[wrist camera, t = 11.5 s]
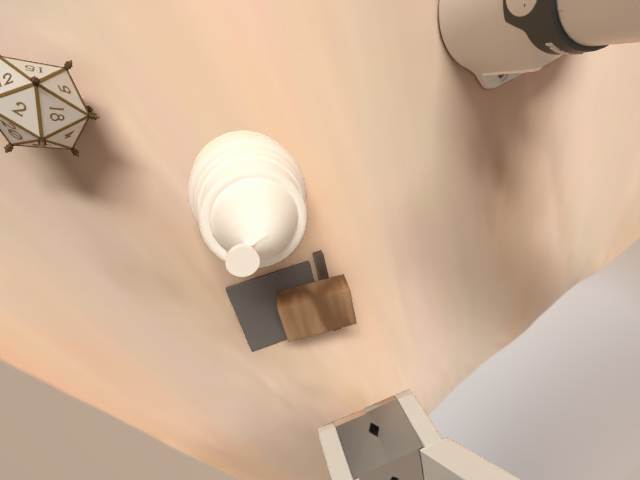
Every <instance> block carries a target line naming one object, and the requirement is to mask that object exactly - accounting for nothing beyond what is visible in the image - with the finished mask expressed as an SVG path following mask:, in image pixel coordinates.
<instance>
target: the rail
mask: <svg viewBox="0 0 640 480" xmlns="http://www.w3.org/2000/svg"><path fill="white" fill-rule="evenodd" d="M313 255H314V259H315V263H316V267H317V271H318V275H319V279H320V280H323V279H327V278H329V277H328V272H327V268H326V264H325V260H324V256H323V253H322V251H321V250H320V251H317V252H314V253H313ZM338 329H340V328H338ZM338 329H334V330H333V331H335V330H338Z"/></svg>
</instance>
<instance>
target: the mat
mask: <svg viewBox="0 0 640 480" xmlns="http://www.w3.org/2000/svg"><path fill="white" fill-rule="evenodd" d="M312 282H314V279H313V275H312V271H311V268H310V264H309V261H306V262H303V263H300V264H297V265H294V266H291V267H288V268H285V269H282V270H279V271H276V272H273V273H270V274H267V275H264V276H261V277H257V278H254V279H251V280H248V281H245V282H242V283H239V284H236V285H233V286H230V287H227V288H226V291H227V293H228V296H229V298H230V301H231V303H232V305H233V308H234V310H235V312H236V315H237V317H238V320H239V322H240V324H241V327H242V329H243V331H244V334H245V336H246V339H247V341H248V343H249V346H250V348H251V350H252V351H255V350H258V349H260V348H263V347H266V346H269V345H271V344H274V343H277V342H280V341H283V340H285V339H287V336H286V333H285V330H284V327H283V324H282V321H281V318H280V315H279V312H278V310H277V295H276V292H277V291H281V290H285V289H289V288H293V287H297V286H300V285H304V284H308V283H312Z"/></svg>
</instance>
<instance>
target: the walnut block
mask: <svg viewBox="0 0 640 480" xmlns="http://www.w3.org/2000/svg"><path fill="white" fill-rule="evenodd" d="M276 295H277V310H278V312H279V315H280V318H281V321H282V324H283V327H284V330H285V333H286V336H287V339H288V342H289V341H293V340H297V339H301V338H304V337H308V336H312V335H315V334H319V333H323V332H327V331H330V330H334V329H338V328H342V327H345V326H349V325H353V324H357V323H356V318H355V313H354V308H353V303H352V298H351V293H350V289H349V287H348V284H347V282H346V279H345V277H344V274H343V275H339V276H335V277H331V278H327V279H323V280H320V281H316V282H312V283H308V284H304V285H300V286H297V287H293V288H289V289H285V290H281V291H277V292H276Z"/></svg>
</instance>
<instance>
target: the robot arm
mask: <svg viewBox="0 0 640 480" xmlns="http://www.w3.org/2000/svg"><path fill="white" fill-rule="evenodd" d="M439 23H440V29H441V34H442V38H443V41H444V43H445V46H446V48H447V50H448V51H449V53H450V54H451V56H452V57H453V58H454V59H455V60H456V61H457V62H458V63H459V64H460V65H462V66H463V67H465V68H467V69H468V70H470V71H472V72H473V73H474V74H475V76H476V78H477V79H478V81H479V82H480V84H481V85H482V86H483V87H484V88H485V89H491V88H496V87H498V86H500V85H502V84H504V83H506V82H508V81H509V80H511V79H513V78H515V77H517V76H519V75H521V74H523V73H525V72H535V71H539V70H541V68H542V66H544V65H547V64H549V63H551V62H552V61H554V60H556V59H558V58H559V57H561V56H562V55H564V54H565V55H575V54H583V53H584V52H590V51H596V50H599V49H602V48H604V47H606V46H608V45H612V44H624V43H635V42H640V0H440V2H439ZM498 75H500V76H498ZM334 425H335V426H334ZM335 428H336V429H335ZM317 431H318V436H319V440H320V443H321V446H322V450H323V453H324V457H325V460H326V464H327V467H328V471H329V474H330V478H331V480H520V479H519V478H516V477H515V476H513V475H511V474H510V473H508V472H506V471H505V470H503V469H501V468H499V467H498V466H496V465H494V464H492V463H491V462H489V461H487V460H485V459H484V458H482V457H481V456H479V455H477V454H475V453H474V452H472V451H470V450H468V449H467V448H465V447H463V446H461V445H460V444H458V443H456V442H454V441H453V440H451V439H449V438H448V437H446V438H444V439H442V438H441V436H440V434H439V433H438V431H437V430H436V428H435V427H434V425H433V423H432V422H431V420H430V419H429V417H428V416H427V414H426V412H425V411H424V409H423V408H422V406H421V405H420V403H419V401H418V400H417V398H416V397H415V395H414V394H413V392H412V391H410V390H409V389H408V390H406V391H403V392H401V393H399V394H397V395H394V396H391V397H389V398H386V399H384V400H382V401H380V402H378V403H375V404H373V405H371V406H369V407H366V408H364V409H363V410H360V411H358V412H356V413H353V414H351V415H348V416H346V417H344V418H341V419H339V420H337V421H334V423H333V422H331V423H329V424H326V425H324V426H322V427H320V428H317ZM339 439H340V440H339ZM340 442H341V443H340Z"/></svg>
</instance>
